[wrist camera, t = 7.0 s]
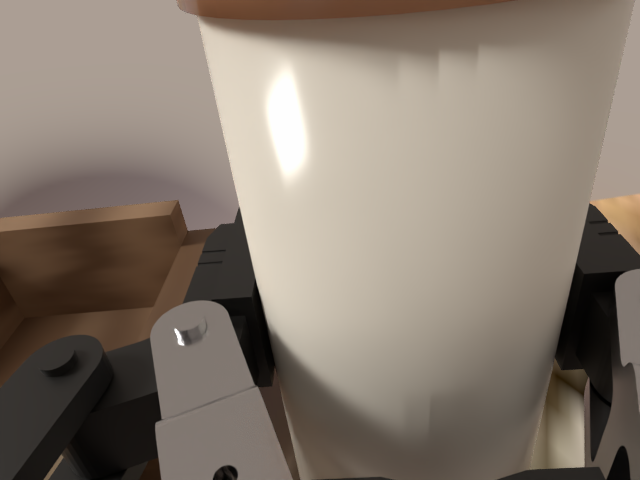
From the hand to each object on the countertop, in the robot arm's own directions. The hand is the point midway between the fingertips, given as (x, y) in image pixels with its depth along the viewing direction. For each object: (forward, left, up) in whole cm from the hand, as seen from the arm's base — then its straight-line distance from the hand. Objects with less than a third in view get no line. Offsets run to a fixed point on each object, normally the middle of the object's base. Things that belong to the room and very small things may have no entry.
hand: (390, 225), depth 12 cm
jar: (0, -2, -9) cm, 9 cm away
